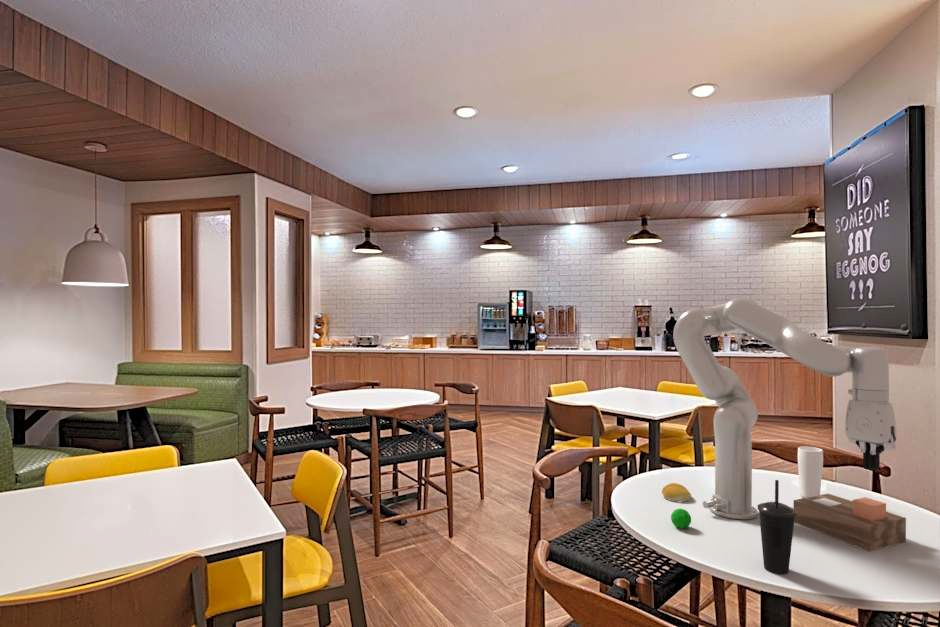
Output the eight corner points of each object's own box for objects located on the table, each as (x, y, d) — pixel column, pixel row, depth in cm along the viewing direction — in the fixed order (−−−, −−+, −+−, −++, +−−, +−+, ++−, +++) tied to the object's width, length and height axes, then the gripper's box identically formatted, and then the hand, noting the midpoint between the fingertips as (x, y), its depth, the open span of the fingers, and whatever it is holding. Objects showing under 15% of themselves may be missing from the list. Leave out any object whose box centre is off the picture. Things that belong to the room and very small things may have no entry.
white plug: (829, 521, 150) (829, 506, 150) (811, 514, 154) (811, 500, 154) (842, 518, 152) (842, 503, 151) (824, 512, 156) (824, 497, 156)
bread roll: (665, 502, 171) (665, 489, 171) (660, 492, 179) (660, 480, 179) (694, 503, 169) (694, 490, 169) (687, 494, 178) (687, 481, 178)
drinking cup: (804, 574, 124) (805, 483, 124) (776, 579, 122) (776, 487, 121) (776, 559, 131) (776, 474, 131) (749, 564, 129) (749, 476, 129)
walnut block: (869, 551, 136) (869, 526, 136) (793, 521, 154) (793, 500, 154) (905, 541, 141) (905, 517, 141) (828, 514, 160) (828, 493, 160)
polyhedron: (674, 522, 154) (674, 505, 154) (693, 526, 151) (693, 508, 151) (668, 528, 150) (668, 510, 150) (688, 532, 147) (687, 514, 147)
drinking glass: (827, 501, 171) (828, 451, 171) (805, 501, 171) (805, 451, 171) (814, 493, 178) (814, 446, 177) (792, 493, 178) (793, 446, 178)
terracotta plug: (873, 522, 139) (873, 506, 139) (852, 515, 144) (852, 499, 144) (886, 519, 141) (886, 503, 141) (865, 512, 146) (865, 497, 146)
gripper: (831, 393, 148) (832, 463, 148) (893, 401, 134) (894, 478, 134) (850, 391, 151) (851, 460, 151) (912, 399, 137) (913, 474, 137)
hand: (871, 468), depth 142 cm, fingers closed
